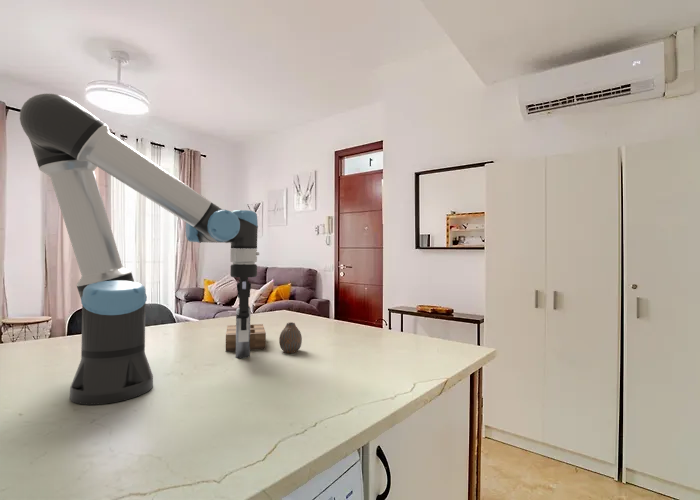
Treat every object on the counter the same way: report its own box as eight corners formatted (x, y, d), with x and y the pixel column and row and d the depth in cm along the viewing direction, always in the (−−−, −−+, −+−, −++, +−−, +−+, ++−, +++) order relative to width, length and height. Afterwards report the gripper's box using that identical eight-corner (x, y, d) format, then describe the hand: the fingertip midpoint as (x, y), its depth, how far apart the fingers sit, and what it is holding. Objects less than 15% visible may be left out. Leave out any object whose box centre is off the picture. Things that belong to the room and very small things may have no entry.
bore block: (265, 349, 119) (265, 333, 119) (225, 351, 115) (225, 335, 115) (262, 338, 134) (262, 324, 134) (227, 339, 130) (227, 325, 131)
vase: (299, 354, 113) (300, 325, 113) (277, 354, 113) (277, 324, 113) (303, 348, 120) (303, 321, 120) (281, 348, 120) (281, 320, 120)
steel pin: (249, 357, 108) (250, 309, 109) (235, 358, 107) (236, 309, 108) (249, 354, 112) (250, 307, 112) (235, 355, 111) (236, 307, 111)
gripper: (259, 264, 99) (258, 345, 99) (255, 262, 123) (254, 327, 123) (229, 264, 97) (228, 347, 97) (231, 262, 121) (230, 328, 121)
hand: (243, 336), depth 110 cm, fingers open, 13 cm apart
